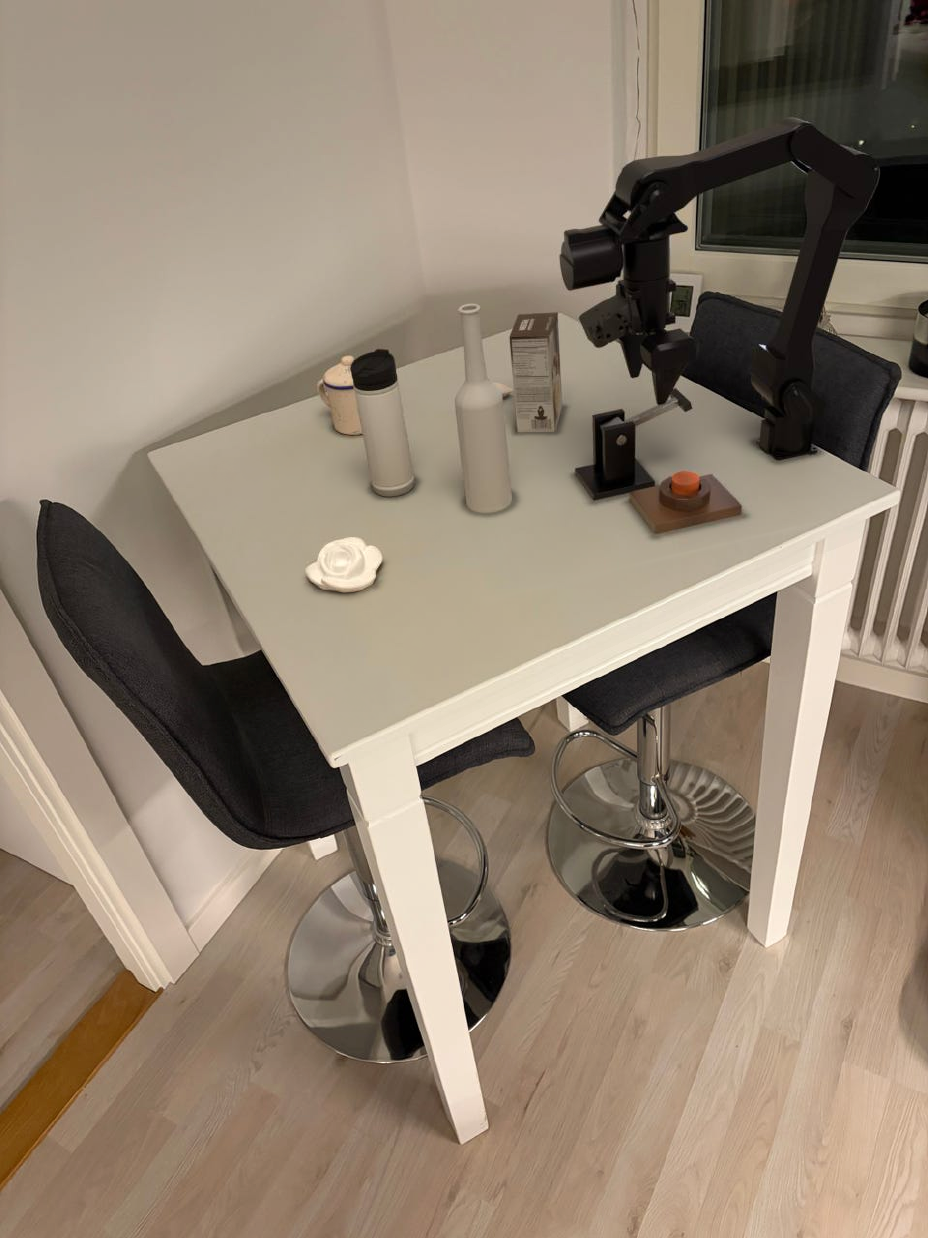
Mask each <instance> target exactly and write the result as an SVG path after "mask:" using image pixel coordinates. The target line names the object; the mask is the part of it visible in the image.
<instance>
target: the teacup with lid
mask: <svg viewBox="0 0 928 1238" xmlns="http://www.w3.org/2000/svg"><path fill="white" fill-rule="evenodd" d="M354 360H355V358H354V357H353V356H352V355H344V356H343V357H342V358H341V362H339V363H338V364H337V365H336V364H335V365H334V366H331V367H330V368H329V369H328V370H326V371H325V373H324V374H323V377H322V378H321V379H320V380H319V381H318V382H317V383H316V384H317V385H316V390H317V394H318V396H319V398H320V400H321V401H322V403H324V404H325V405H326V406H327V407H329V408H330V413H331V416H332V422H333V426H334V429H335V430H336V431H337V432H338V433H341V434H342V435H348V436H354V435H355V436H357V435H358V436H359V435H363V433H362V428H361V423H360V418H359V413H358V408H357V403H356V397H355V392H354V387H353V379H352V375H351V370H350V366H351V363H352V362H353V361H354ZM324 386H325V388H326V391H325V388H324Z"/></svg>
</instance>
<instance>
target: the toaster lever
mask: <svg viewBox="0 0 928 1238" xmlns="http://www.w3.org/2000/svg"><path fill="white" fill-rule="evenodd" d="M669 398H670V399H668V400H667V402H666V403H665V404H663V405H655V406H653V407H650V408H649V409H646V410H644V411H642V412H640V413H638V414H635V415H633V416H631V417H630V418H627V419H625V421H623V422H622V421H621V419H620V418H619V417H616V418H614V419H612V420H610V421H608V422H605V423H603V424H601V425H600V428H601V431H602V428H603V427H607V426H612V425H616V424H621V423H626V422H630V421H633V422H634V423H635V424H636V427H637V426H641V425H642V424H645V423H647V422H648V421H651V420H652V419H655V418H657V417H659V416H661V415H664V414H666V413H668V412H670V411H672V410H674V409H676V408H678V407H679V408H680V409H681V410H682V411H683V412H684V413H687V412H690V411H691V410H693V404H692V402H691V400H689V399H688V398H687V397H686V396H685V395H684V394H683V393H682V392H681V391H680V390H679V389H678V388H677V387H674V388H673V390H672V392H671V394H670V396H669ZM602 434H603V431H602Z"/></svg>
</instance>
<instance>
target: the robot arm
mask: <svg viewBox="0 0 928 1238" xmlns="http://www.w3.org/2000/svg"><path fill="white" fill-rule="evenodd" d="M790 162H791V163H792V164H793V165H794V166H795V167H796V168H797V169H799V170H800V171H802V172H803V173H805V175H807V176H806V184H805V191H804V203H805V211H806V219H807V220H806V221H807V222H806V223H807V224H806V228H805V231H804V235H803V239H802V242H801V246H800V248H799V249H800V250H799V252H798V255H797V256H798V257H797V258H796V259H797V260H796V264H795V266H794V271H793V272H792V273H793V274H792V278H791V281H790V284H789V288H788V290H787V295H786V298H785V301H784V305H783V309H782V311H781V316H780V319H779V323H778V326H777V330H776V332H775V334H774V336H773V337H772V339H770V340H769V342H768V343H767V344H766V345H764V344H757V345H756V346H755V348H754V356H753V360H752V363H751V365H750V367H749V368H748V370H747V371H748V373H749V374H751V376H750V383H751V385H752V386H753V388H754V389H755V391H756V392H757V393H759V395H760V396H761V399H762V400H763V401H765V402H766V403H767V404H768V405H769V406H767V407H765V409H764V410H765V411H764V418H762V419H761V421H760V430H759V431H760V432H759V437H758V438H756V441H755V442H756V444H757V445H758V446H759V447H760V448H762V449H763V450H764V451H765V453H767V454H768V455H769V456H770V457H771V458H773V459H774V460H775V461H777V462H778V461H784V460H788V459H792V458H793V459H794V458H797V457H803V456H806V455H812V454H816V453H818V450H819V448H818V447H817V446H816V445H815V444H814V443H813V440H814V434H815V425H816V420H817V419H821V418H822V417H823V414H824V412H825V410H826V408H827V406H828V403H827V402H826V401H825V400H824V399H823V398H822V397H820V396H819V395H818V394H817V393H816V392H815V391H813V384H814V377H815V371H816V364H815V356H814V349H813V344H814V340H815V339H814V338H815V336H816V333H817V329H818V326H819V323H820V319H821V316H822V313H823V310H824V306H825V303H826V300H827V298H828V294H829V291H830V288H831V285H832V281H833V278H834V274H835V271H836V267H837V265H838V262H839V259H840V255H841V252H842V249H843V246H844V242H845V240H846V236H847V234H848V232H849V230H850V229H851V228H852V226H853V225H854V224H855V223H856V222H857V221H858V219H859V218H860V217H861V216H862V215H863V214H864V212H865V211H866V209H867V208H868V206H869V203H870V201H871V199H872V198H873V195H874V193H875V191H876V188H877V186H878V183H879V180H880V175H881V170H880V169H881V168H880V167H879V165H878V162H877V160H876V159H875V158H874V157H872V156H871V154H867V153H865V152H862V151H859V150H856V149H854V148H851V147H849V146H845V145H843V144H839V143H837V142H836V141H834V140H833V139H831V138H830V137H829V136H827V135H825V134H824V133H823V132H821V131H820V130H818V129H817V127H816V126H815V125H814V124H813V123H812V122H808V121H805V120H802V119H800V118H796V117H794V116H790V117H785V118H784V119H782V120H780V121H778V122H777V123H774V124H772V125H768V126H766V127H764V128H763V127H762V128H761V129H758V130H755V131H752V132H749V133H746V134H744V135H740V136H737V137H734V138H732V139H729V140H727V141H726V140H725V141H723V142H721V143H718V144H715V145H712V146H710V147H706V148H704V149H700V150H698V151H695V152H693V153H689V154H681V155H660V156H652V157H646V158H638V159H633V160H632V161H630V162H628V163H627V164H625V165H624V166H623V167H622V168H621V172H620V173H619V174H618V176H617V179H616V182H615V190H614V192H613V194H612V195H611V197H610V199H609V200H608V203H607V204H606V205H605V208H604V209H603V211H602V213H601V214H600V216H599V218H598V222H599V223H600V224H599V225H593V226H589V227H585V228H571V229H566V230H564V231H563V241H562V243H561V248H560V254H559V255H558V256H559V257H558V258H559V268H560V274H561V278H562V281H563V284H564V286H565V288H566V290H567V291H568V292H572V291H576V290H581V289H587V288H591V287H596V286H600V285H604V284H610V283H614V282H615V281H616V280H617V278H621V276H622V279H620V280H617V284H615V294H614V295H612V296H610V297H609V298H606V299H604V300H602V301H600V302H599V303H597V304H595V305H594V306H592V307H591V308H589V309H587V310H586V311H584V312H582V313H581V314H580V315H579V316H578V320H579V322H580V326H581V328H582V329H583V331H584V334H585V336H586V338H587V340H588V341H589V342H590V343H591V344H592V345H593V346H594V347H595V348H596V349H601V348H604V347H606V346H607V345H608V344H611V343H613V342H615V341H616V340H618V341H619V345H620V347H621V350H622V354H623V357H624V361H625V364H626V367H627V371H628V374H629V378H631V379H636V378H637V379H638V378H639V377H640V374H641V371H642V368H643V366H645V368H646V369H648V370H649V371H651V378H652V386H653V392H654V393H653V394H654V397H655V402H656V404H657V405H663V404H665V403H666V402H667V401H668V400H669V398H670V394H671V392H672V390H673V389H674V388H675V386H676V385H677V383H678V381H679V380H680V377H681V376H682V374H683V372H684V371H685V369H686V368H687V366H688V364H689V365H690V364H692V363H693V362H694V361H697V359H699V352H700V349H699V348H700V342H698V341H697V340H696V339H695V338H693V337H692V336H691V335H690V334H688V333H687V332H686V331H685V330H684V329H682V327H679V328H675V329H671V330H668V329H666V327H667V326H669V325H674V324H676V319H677V317H676V315H675V314H674V313H673V312H672V311H671V293H673V292H676V291H677V282H675V281H674V280H673V279H671V236H672V235H677V234H682V233H686V232H688V230H689V226H688V225H687V224H685V223H684V222H682V220H680V218H679V217H678V216H677V214H676V213H677V212H679V211H680V210H683V209H684V208H685V207H687V206H688V205H689V203H691V202H692V201H693V200H694V199H695V198H696V197H698V196H700V195H701V194H703V193H706V192H707V191H711V190H713V189H716V188H719V187H721V186H724V185H728V184H730V183H733V182H736V181H738V180H741V179H745V178H747V177H750V176H754V175H756V174H759V173H761V172H764V171H767V170H770V169H772V168H775V167H778V166H779V167H780V166H781V165H784V164H787V163H790ZM628 212H629V213H630V214H629V215H628V217H625V216H624V215H626V214H627V213H628ZM657 405H656V406H657Z"/></svg>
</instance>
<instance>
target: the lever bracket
mask: <svg viewBox="0 0 928 1238" xmlns="http://www.w3.org/2000/svg"><path fill="white" fill-rule="evenodd" d="M625 414H626V412H625V410H624V409H623V408H620V409H615V410H609V411H606V412H605V411H604V412H601V413H595V414H592V415H591V416H592V418H591V419H592V420H591V421H592V422H591V423H592V458H593V459H592V460H593V461H592V462H593V464H589V465H584V466H580V467H576V468H574V474H575V477H577V479H578V480H579V482H580V483H581V485H582V486H583V488H584V489H585V490H586V492H587V493H588V495H589V497H590V498H591V499H592V500H593V501H599V500H604V499H609V498H613V497H617V496H622V495H626V494H630V492H632V491H636V490H641V489H645V488H650V487H654V486H656V481H655V479H654V478H653V477H652V476H651V474H650V473H648V471H647V470H646V468H644V466H643V465H642V463H640V462H639V460H638V459H637V458H636V427H637V426H636V424H635V423H634V422H633V421H630V422H626V423H621V424H616V425H612V426H607V427H603V428H602V431H603V434H602V431H601V428H600V425H601V424H603V423H605V422H608V421H610V420H612V419H614V418H616V417H619V418H620V419H621V421H622V422H623V421H625V420H626V415H625Z"/></svg>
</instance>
